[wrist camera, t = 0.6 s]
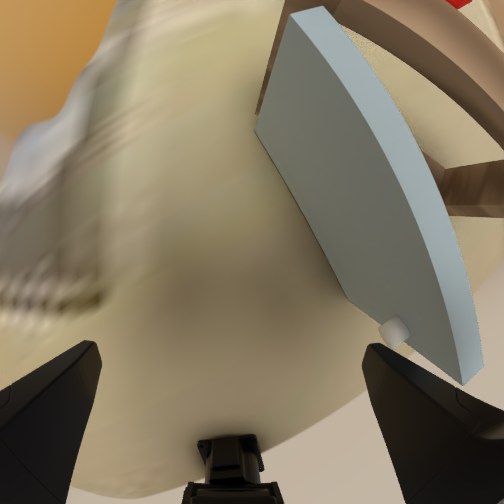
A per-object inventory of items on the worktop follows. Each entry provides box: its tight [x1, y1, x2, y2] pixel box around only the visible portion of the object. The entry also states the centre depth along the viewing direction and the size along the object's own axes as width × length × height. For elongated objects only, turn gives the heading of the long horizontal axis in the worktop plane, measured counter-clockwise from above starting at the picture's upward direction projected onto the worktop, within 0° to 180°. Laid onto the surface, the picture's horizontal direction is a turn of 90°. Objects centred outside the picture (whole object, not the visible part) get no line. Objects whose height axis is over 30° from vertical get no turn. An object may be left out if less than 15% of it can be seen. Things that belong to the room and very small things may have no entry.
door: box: [254, 6, 484, 386], centre depth 17 cm, size 3×17×16 cm, turn 30°
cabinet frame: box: [255, 0, 504, 218], centre depth 16 cm, size 4×20×18 cm, turn 65°
